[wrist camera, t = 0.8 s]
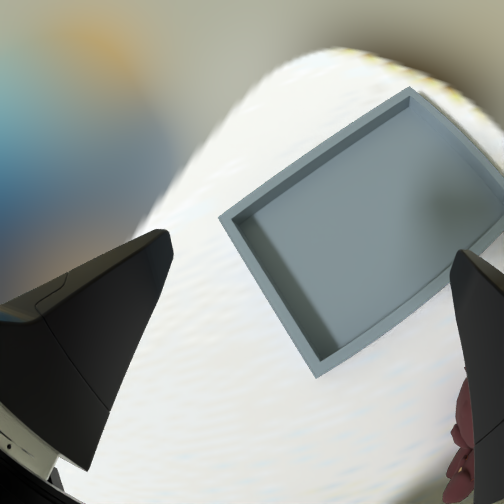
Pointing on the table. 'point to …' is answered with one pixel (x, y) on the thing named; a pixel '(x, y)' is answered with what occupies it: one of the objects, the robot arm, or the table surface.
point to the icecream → (461, 451)
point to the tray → (367, 226)
